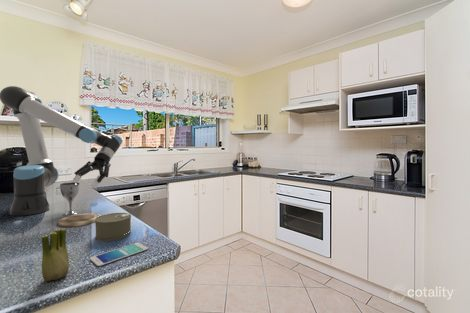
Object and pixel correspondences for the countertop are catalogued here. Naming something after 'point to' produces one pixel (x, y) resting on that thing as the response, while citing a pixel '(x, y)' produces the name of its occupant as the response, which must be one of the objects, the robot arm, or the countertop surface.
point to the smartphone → (118, 254)
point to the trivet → (78, 220)
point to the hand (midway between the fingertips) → (82, 186)
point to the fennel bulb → (54, 256)
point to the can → (113, 226)
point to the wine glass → (70, 194)
